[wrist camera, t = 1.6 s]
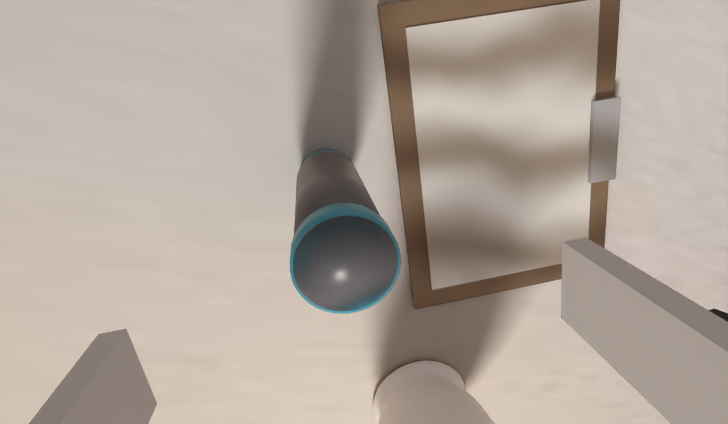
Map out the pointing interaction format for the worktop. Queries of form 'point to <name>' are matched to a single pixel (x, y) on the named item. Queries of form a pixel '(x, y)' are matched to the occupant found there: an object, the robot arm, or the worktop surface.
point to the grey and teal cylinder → (339, 238)
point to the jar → (426, 397)
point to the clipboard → (500, 136)
